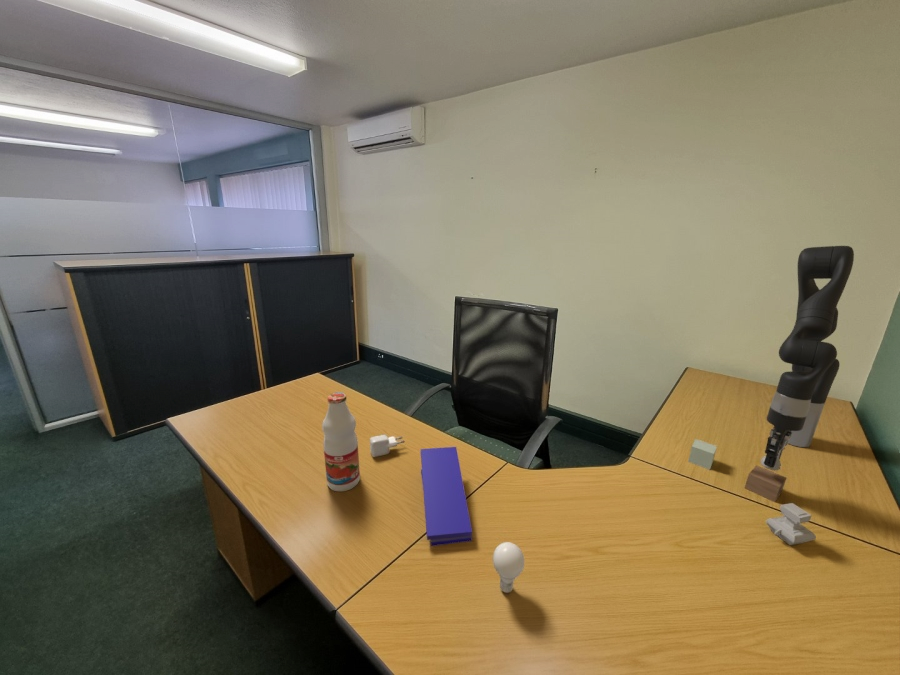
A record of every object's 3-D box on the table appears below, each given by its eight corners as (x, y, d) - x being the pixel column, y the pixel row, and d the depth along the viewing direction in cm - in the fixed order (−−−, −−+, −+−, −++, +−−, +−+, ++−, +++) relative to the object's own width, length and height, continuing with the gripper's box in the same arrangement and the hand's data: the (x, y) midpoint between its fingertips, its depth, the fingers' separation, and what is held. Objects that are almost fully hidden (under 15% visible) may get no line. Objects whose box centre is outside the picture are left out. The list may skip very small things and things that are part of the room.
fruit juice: (362, 471, 111) (357, 388, 103) (356, 492, 102) (350, 403, 94) (332, 471, 111) (324, 388, 103) (323, 492, 102) (313, 404, 94)
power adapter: (401, 444, 125) (401, 429, 124) (405, 451, 121) (405, 436, 119) (369, 451, 121) (369, 435, 119) (372, 459, 117) (371, 443, 115)
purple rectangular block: (454, 469, 113) (454, 442, 110) (474, 543, 86) (476, 510, 84) (418, 473, 111) (417, 445, 108) (427, 549, 85) (427, 515, 82)
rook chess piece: (783, 472, 101) (792, 447, 99) (765, 470, 102) (773, 445, 100) (773, 462, 105) (781, 438, 103) (756, 460, 106) (763, 437, 104)
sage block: (691, 454, 123) (695, 438, 121) (712, 461, 119) (717, 446, 117) (688, 462, 118) (691, 446, 117) (709, 470, 114) (714, 453, 113)
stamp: (787, 551, 85) (797, 523, 83) (759, 529, 91) (768, 502, 89) (816, 546, 87) (827, 518, 84) (787, 525, 93) (796, 498, 91)
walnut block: (752, 479, 110) (756, 465, 109) (781, 492, 105) (786, 477, 104) (744, 487, 106) (748, 473, 105) (774, 502, 101) (779, 487, 100)
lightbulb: (488, 576, 78) (490, 535, 75) (517, 574, 78) (520, 534, 75) (494, 605, 72) (497, 562, 69) (525, 602, 72) (529, 560, 69)
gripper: (778, 397, 105) (762, 448, 110) (763, 411, 97) (746, 464, 102) (813, 407, 99) (795, 460, 104) (800, 422, 91) (781, 479, 96)
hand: (771, 462), depth 103 cm, fingers closed on rook chess piece, 4 cm apart
